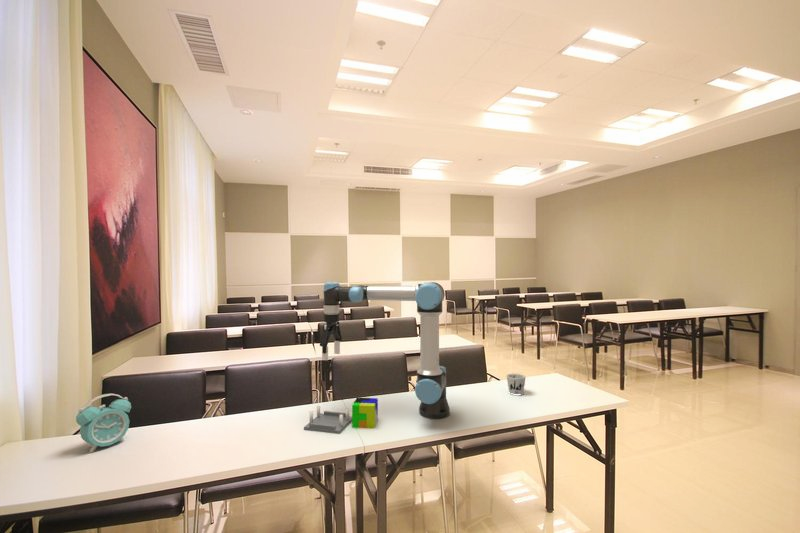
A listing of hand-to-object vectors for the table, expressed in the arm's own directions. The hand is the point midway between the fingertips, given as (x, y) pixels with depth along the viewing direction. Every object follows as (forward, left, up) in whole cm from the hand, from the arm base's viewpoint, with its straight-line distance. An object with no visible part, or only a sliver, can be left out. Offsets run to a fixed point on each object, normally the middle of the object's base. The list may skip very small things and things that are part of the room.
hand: (331, 356), depth 177 cm
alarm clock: (+75, +52, -28) cm, 95 cm away
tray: (-5, +12, -28) cm, 31 cm away
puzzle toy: (-20, +7, -28) cm, 35 cm away
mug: (-90, -55, -28) cm, 109 cm away
